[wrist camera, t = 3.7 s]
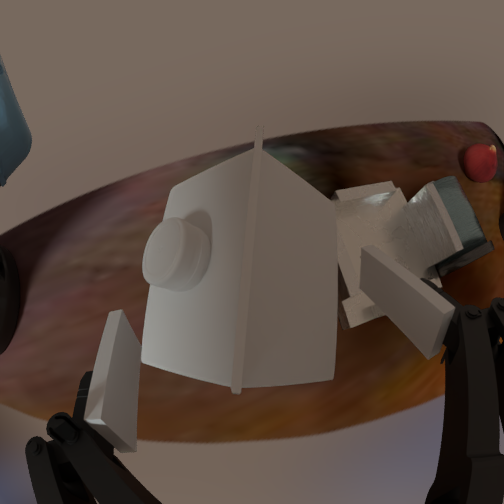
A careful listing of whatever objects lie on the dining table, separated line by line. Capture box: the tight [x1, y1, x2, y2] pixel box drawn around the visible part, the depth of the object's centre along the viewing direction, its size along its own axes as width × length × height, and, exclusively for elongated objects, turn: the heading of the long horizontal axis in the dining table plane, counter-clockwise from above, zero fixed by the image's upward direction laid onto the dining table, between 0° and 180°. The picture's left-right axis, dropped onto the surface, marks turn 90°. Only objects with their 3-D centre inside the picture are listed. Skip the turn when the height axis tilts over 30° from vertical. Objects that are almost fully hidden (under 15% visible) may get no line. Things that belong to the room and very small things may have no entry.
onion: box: [464, 144, 497, 183], centre depth 29 cm, size 6×6×8 cm
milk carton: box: [141, 126, 338, 394], centre depth 15 cm, size 7×7×19 cm
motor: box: [330, 176, 494, 330], centre depth 24 cm, size 19×12×8 cm, turn 106°
